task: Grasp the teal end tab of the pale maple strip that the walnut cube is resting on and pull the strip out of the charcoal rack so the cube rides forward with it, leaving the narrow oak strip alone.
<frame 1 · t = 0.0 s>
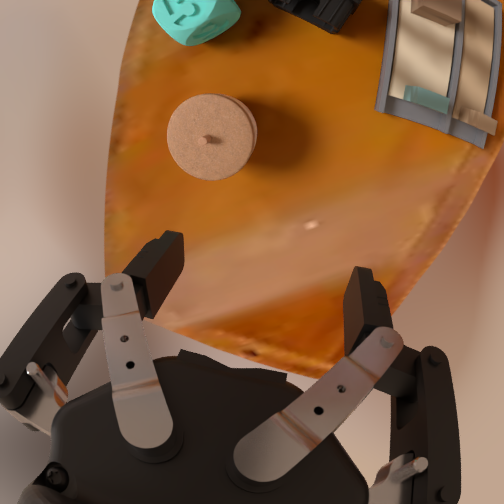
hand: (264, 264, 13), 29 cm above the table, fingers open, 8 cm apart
strip B: (485, 58, 21), point 4 cm above the table, slide at 0.0 cm
lidded jar: (226, 127, 39), on the table
end cap: (315, 0, 26), on the table
walnut cube: (429, 4, 21), point 2 cm above the table, touching strip A
decorative dice: (208, 13, 30), on the table
strip A: (433, 33, 22), point 4 cm above the table, slide at 0.0 cm, touching walnut cube
rack: (443, 48, 25), on the table
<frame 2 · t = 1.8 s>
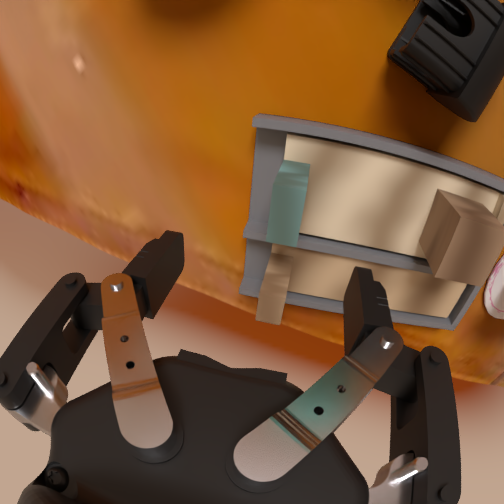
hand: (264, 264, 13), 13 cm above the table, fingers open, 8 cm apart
strip B: (376, 302, 24), point 4 cm above the table, slide at 0.0 cm
end cap: (444, 44, 15), on the table
walnut cube: (451, 222, 21), point 2 cm above the table, touching strip A
strip A: (408, 221, 19), point 4 cm above the table, slide at 0.0 cm, touching walnut cube
rack: (381, 231, 25), on the table
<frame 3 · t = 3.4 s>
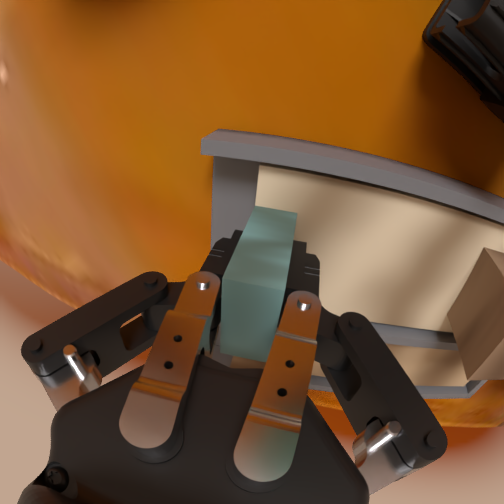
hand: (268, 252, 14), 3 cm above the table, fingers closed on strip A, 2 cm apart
strip B: (382, 390, 17), point 4 cm above the table, slide at 0.0 cm
end cap: (499, 31, 7), on the table
walnut cube: (492, 288, 13), point 2 cm above the table, touching strip A
strip A: (443, 304, 12), point 4 cm above the table, slide at 0.0 cm, touching gripper, walnut cube
rack: (396, 296, 17), on the table
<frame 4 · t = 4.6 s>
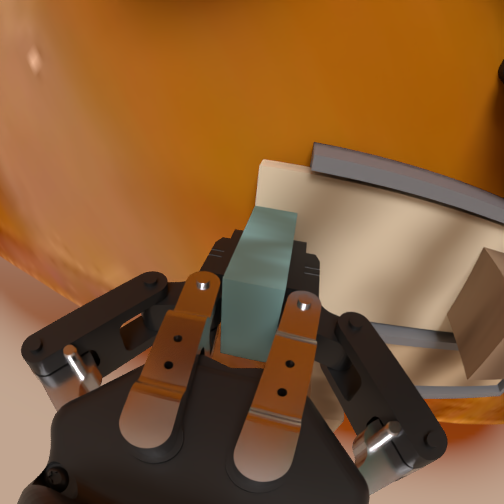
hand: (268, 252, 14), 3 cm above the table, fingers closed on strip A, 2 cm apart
strip B: (438, 392, 16), point 4 cm above the table, slide at 0.0 cm
walnut cube: (492, 288, 13), point 2 cm above the table, touching strip A
strip A: (443, 304, 12), point 4 cm above the table, slide at 4.8 cm, touching gripper, walnut cube
rack: (452, 306, 17), on the table
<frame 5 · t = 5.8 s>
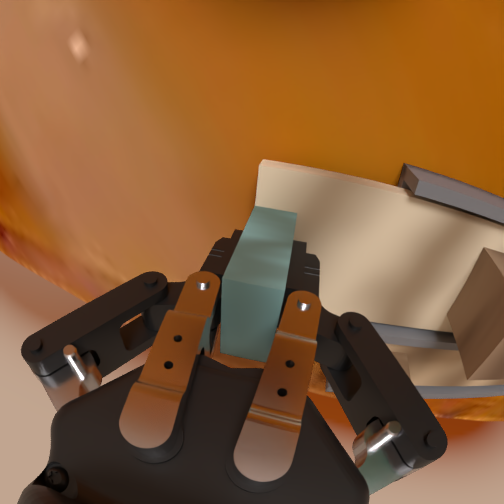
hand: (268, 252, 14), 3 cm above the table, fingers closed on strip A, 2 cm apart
strip B: (481, 391, 15), point 4 cm above the table, slide at 0.0 cm
walnut cube: (492, 288, 13), point 2 cm above the table, touching strip A
strip A: (443, 304, 12), point 4 cm above the table, slide at 9.4 cm, touching gripper, walnut cube
rack: (495, 312, 16), on the table
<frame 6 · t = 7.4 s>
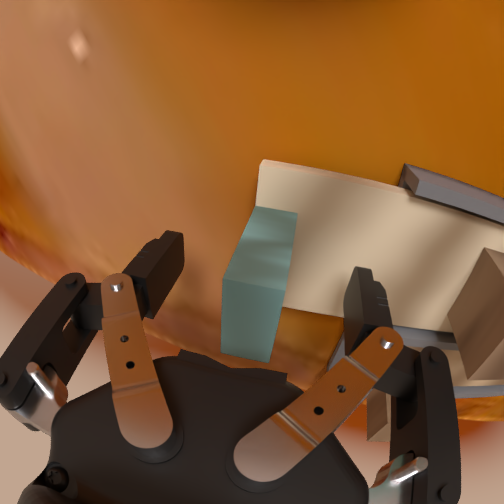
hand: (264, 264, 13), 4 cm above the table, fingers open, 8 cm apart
strip B: (481, 391, 15), point 4 cm above the table, slide at 0.0 cm
walnut cube: (492, 288, 13), point 2 cm above the table, touching strip A
strip A: (443, 304, 12), point 4 cm above the table, slide at 9.4 cm, touching walnut cube
rack: (495, 312, 16), on the table
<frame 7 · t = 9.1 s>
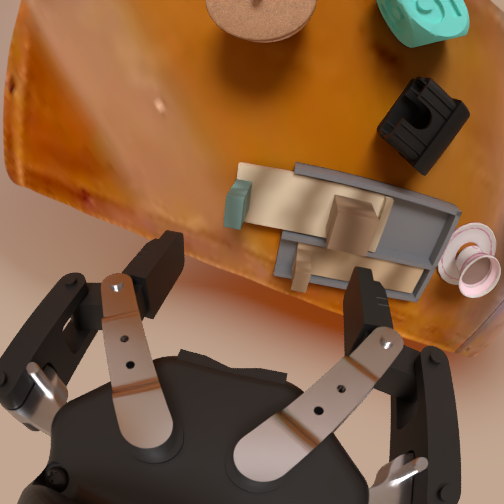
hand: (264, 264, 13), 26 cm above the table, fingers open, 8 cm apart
strip B: (363, 279, 40), point 4 cm above the table, slide at 0.0 cm
teacup: (466, 253, 39), on the table
lidded jar: (269, 9, 26), on the table
end cap: (414, 119, 30), on the table
walnut cube: (348, 215, 37), point 2 cm above the table, touching strip A
decorative dice: (410, 15, 22), on the table
strip A: (311, 215, 36), point 4 cm above the table, slide at 9.4 cm, touching walnut cube
rack: (366, 235, 40), on the table
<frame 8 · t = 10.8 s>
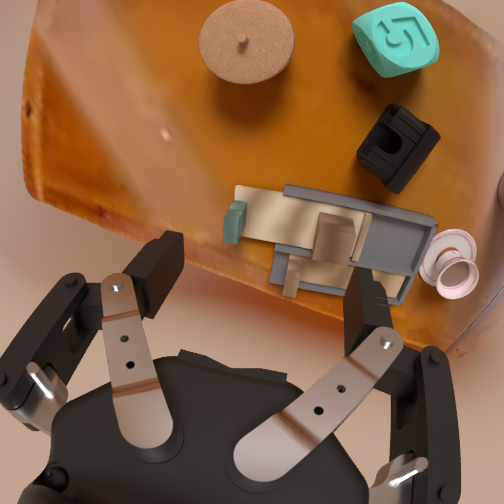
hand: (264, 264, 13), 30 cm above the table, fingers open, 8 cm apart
strip B: (347, 286, 45), point 4 cm above the table, slide at 0.0 cm
teacup: (447, 257, 43), on the table
lidded jar: (257, 47, 32), on the table
end cap: (392, 142, 36), on the table
walnut cube: (332, 229, 43), point 2 cm above the table, touching strip A
decorative dice: (387, 43, 28), on the table
strip A: (298, 231, 41), point 4 cm above the table, slide at 9.4 cm, touching walnut cube
rack: (351, 246, 46), on the table
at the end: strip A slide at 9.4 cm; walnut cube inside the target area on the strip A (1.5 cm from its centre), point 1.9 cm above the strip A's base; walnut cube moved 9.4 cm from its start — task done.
